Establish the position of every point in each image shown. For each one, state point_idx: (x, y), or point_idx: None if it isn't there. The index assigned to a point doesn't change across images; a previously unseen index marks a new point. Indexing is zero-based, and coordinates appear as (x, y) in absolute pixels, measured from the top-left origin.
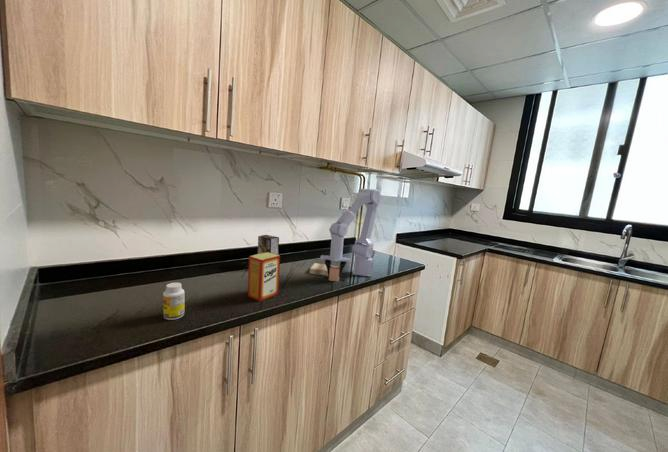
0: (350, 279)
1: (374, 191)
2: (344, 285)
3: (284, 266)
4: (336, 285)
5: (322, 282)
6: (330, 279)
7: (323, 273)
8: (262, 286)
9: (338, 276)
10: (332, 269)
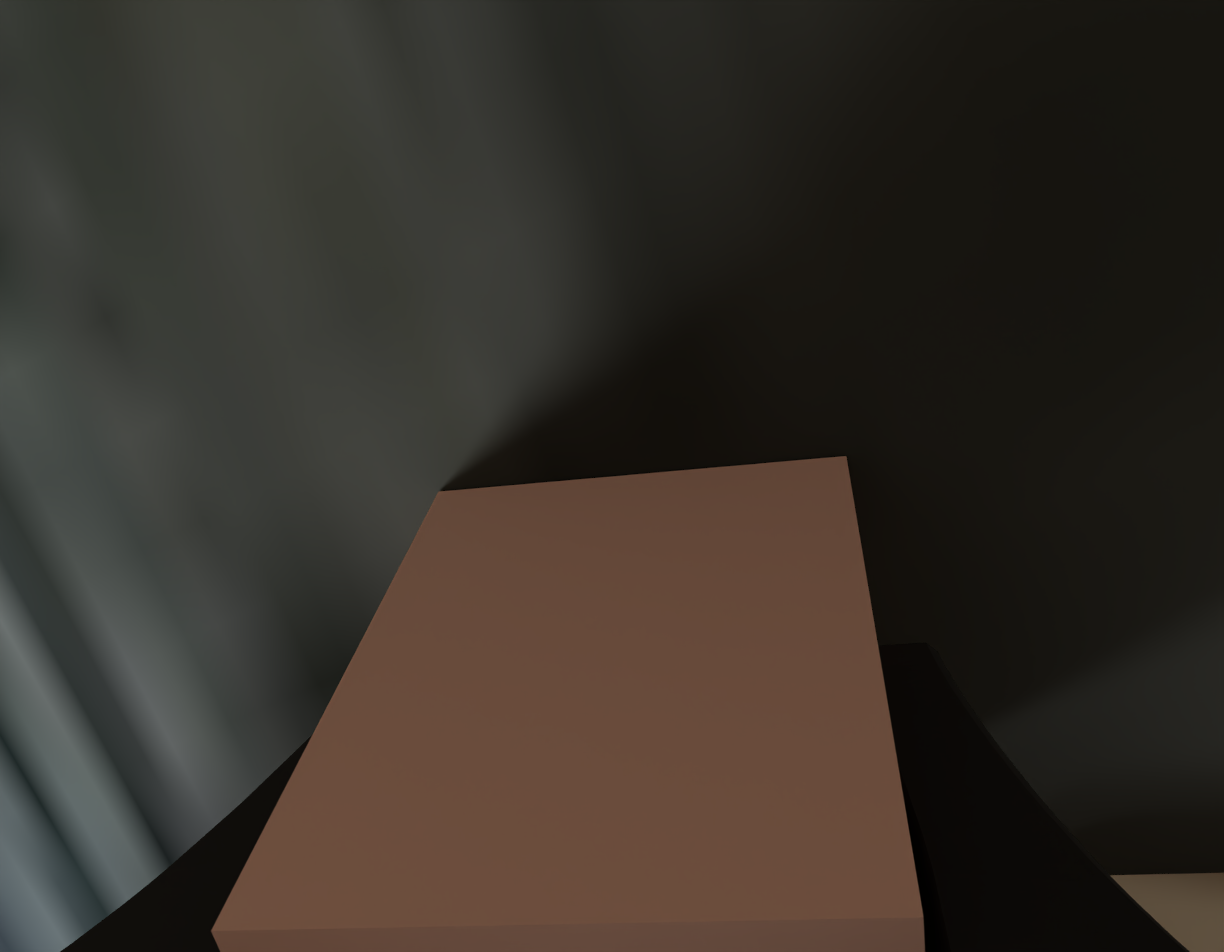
0: (154, 835)
1: None
2: (44, 191)
3: None
4: (334, 6)
5: (1095, 61)
6: (776, 485)
7: (1211, 932)
8: None
9: (385, 621)
10: (703, 857)
